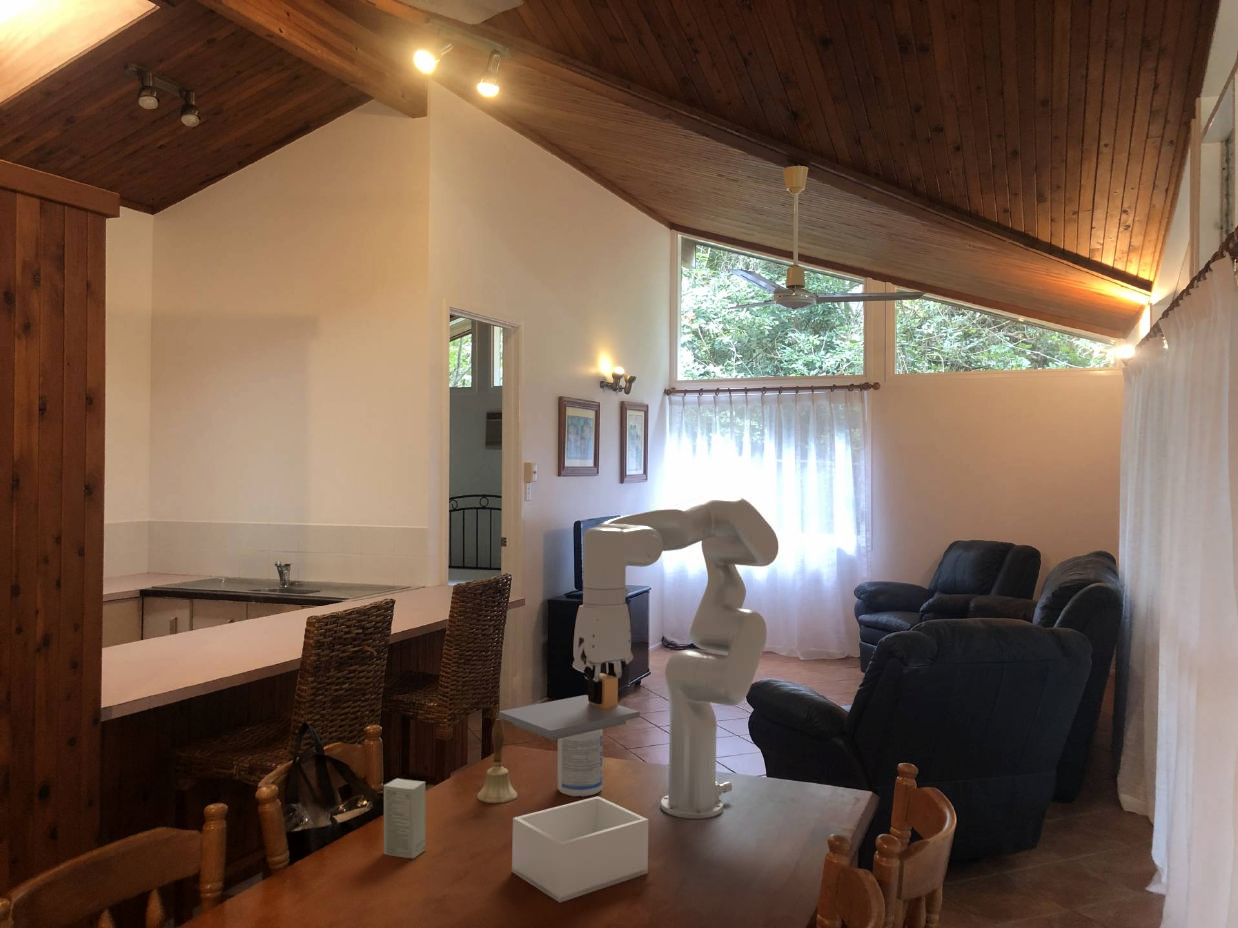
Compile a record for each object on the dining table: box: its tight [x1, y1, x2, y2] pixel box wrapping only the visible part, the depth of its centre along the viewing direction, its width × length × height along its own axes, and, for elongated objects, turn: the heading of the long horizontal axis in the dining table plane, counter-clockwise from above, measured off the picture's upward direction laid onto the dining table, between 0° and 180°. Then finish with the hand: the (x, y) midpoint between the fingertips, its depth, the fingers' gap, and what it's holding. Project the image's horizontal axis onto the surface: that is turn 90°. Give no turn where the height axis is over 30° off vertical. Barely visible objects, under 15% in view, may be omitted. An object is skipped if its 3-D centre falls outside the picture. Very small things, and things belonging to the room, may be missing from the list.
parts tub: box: [511, 796, 649, 904], centre depth 154 cm, size 18×14×9 cm
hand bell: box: [476, 717, 518, 804], centre depth 191 cm, size 8×8×16 cm
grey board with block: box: [498, 672, 641, 741], centre depth 158 cm, size 19×15×7 cm
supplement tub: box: [557, 729, 604, 798], centre depth 195 cm, size 10×10×15 cm
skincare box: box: [383, 777, 427, 860], centre depth 162 cm, size 6×4×12 cm
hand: (603, 699), depth 163 cm, fingers closed on grey board with block, 3 cm apart
